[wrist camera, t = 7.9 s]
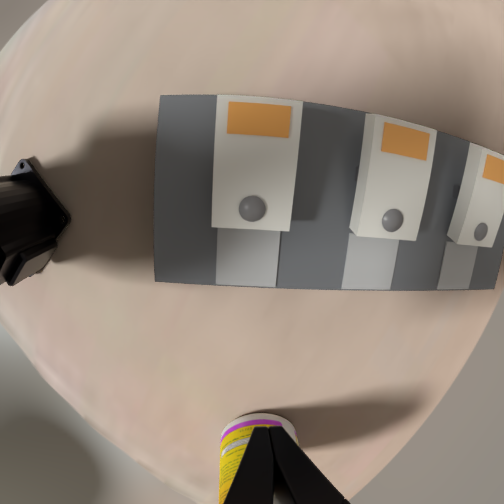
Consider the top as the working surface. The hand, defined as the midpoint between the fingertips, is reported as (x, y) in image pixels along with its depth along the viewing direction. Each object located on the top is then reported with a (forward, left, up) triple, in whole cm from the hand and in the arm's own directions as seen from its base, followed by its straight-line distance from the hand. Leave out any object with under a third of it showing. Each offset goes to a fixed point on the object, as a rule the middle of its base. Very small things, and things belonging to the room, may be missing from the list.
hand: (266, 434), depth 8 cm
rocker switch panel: (0, +9, -12) cm, 15 cm away
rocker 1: (-6, +5, -8) cm, 11 cm away
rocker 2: (+4, +15, -8) cm, 17 cm away
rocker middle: (-1, +10, -8) cm, 13 cm away
